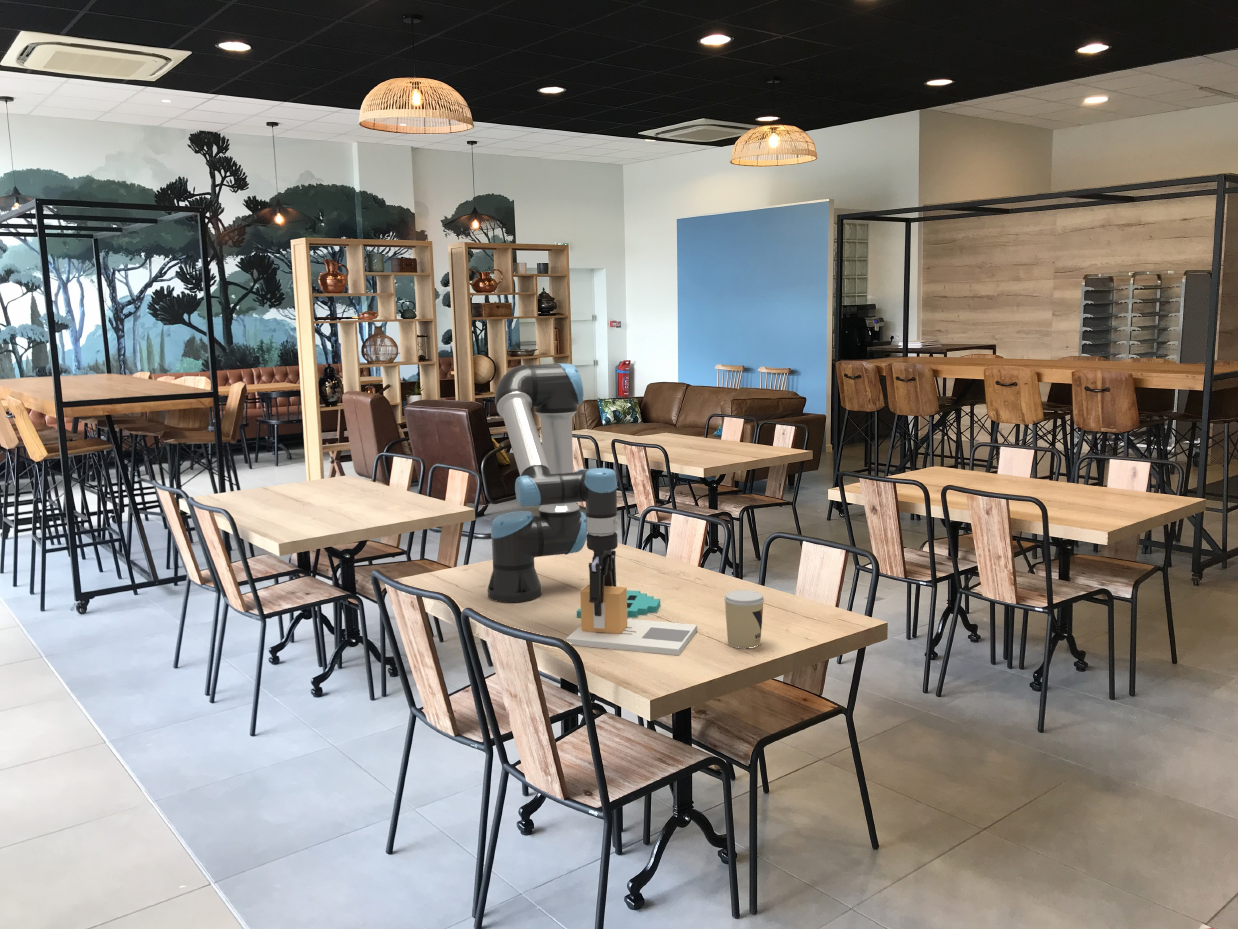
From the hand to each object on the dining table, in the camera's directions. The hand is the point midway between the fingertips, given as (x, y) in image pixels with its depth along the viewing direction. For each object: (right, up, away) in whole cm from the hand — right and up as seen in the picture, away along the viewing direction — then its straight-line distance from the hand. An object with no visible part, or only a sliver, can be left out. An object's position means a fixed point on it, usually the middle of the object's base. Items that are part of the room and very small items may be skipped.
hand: (603, 623), depth 241 cm
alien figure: (+5, 0, +22) cm, 22 cm away
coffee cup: (+34, -4, -8) cm, 35 cm away
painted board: (+7, -3, -2) cm, 8 cm away
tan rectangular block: (0, -1, 0) cm, 1 cm away
